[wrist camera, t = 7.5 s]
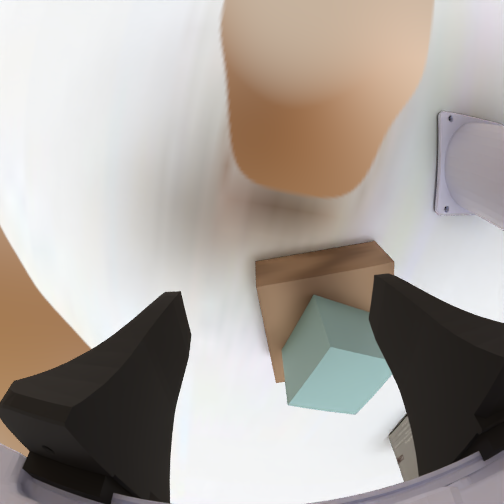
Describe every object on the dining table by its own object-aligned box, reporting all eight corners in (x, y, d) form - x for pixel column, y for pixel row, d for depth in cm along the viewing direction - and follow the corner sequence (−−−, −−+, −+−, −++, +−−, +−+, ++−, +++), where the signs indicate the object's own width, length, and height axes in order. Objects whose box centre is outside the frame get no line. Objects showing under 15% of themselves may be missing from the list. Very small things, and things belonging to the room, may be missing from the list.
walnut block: (372, 238, 21) (394, 261, 18) (370, 331, 25) (385, 360, 21) (255, 259, 22) (256, 286, 18) (273, 349, 26) (276, 382, 22)
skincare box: (416, 401, 30) (458, 503, 15) (452, 397, 30) (495, 484, 16) (384, 437, 33) (412, 529, 18) (421, 432, 34) (451, 513, 19)
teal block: (375, 314, 19) (401, 362, 15) (340, 364, 21) (355, 414, 17) (313, 294, 19) (330, 346, 14) (281, 350, 20) (287, 405, 16)
